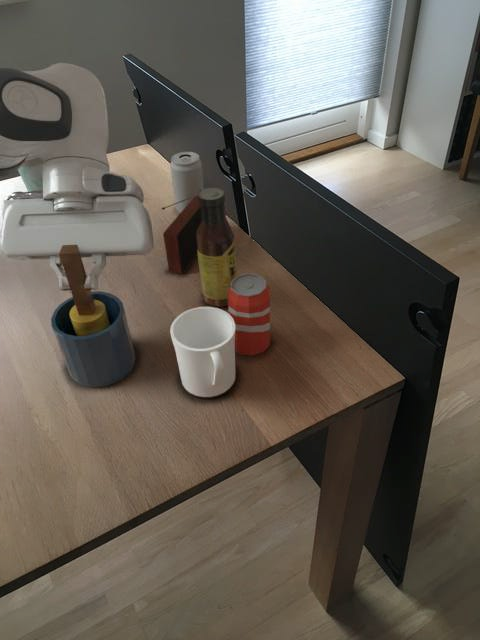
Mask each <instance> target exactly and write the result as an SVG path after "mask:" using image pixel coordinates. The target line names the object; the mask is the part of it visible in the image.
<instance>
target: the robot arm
mask: <svg viewBox="0 0 480 640" xmlns="http://www.w3.org/2000/svg"><path fill="white" fill-rule="evenodd" d="M105 93H106V92H105V91H104V88H103V85H102V83H101V81H100V80H99V79H98V77H97V76H96V75H95V74H94V73H93V72H91V71H90V70H88V69H87V68H84V67H82V66H80V65H77V64H75V63H74V64H73V63H69V62H58V63H53V64H51V65H50V66H48V67H46V68H43V69H38V70H20V69H16V68H11V67H0V178H5V177H8V176H11V175H13V174H14V173H16V172H17V171H18V169H19V168H20V167H21V165H22V164H23V162H24V161H25V160H26V158H27V157H28V156H29V155H35V156H38V157H40V158H41V160H42V163H43V191H30V192H28V191H14V192H12V193H11V194H9V195H8V196H7V197H5V198H4V200H2V202H1V218H2V224H1V231H0V251H1V252H2V254H3V255H4V256H5V257H6V258H8V259H11V260H15V261H27V260H47V259H48V260H49V265H50V267H51V268H52V270H53V272H54V273H55V275H56V276H57V277H58V289H59V291H62V292H69V291H70V292H71V290H70V287H69V283H68V280H67V277H66V274H65V271H64V268H63V265H62V262H61V259H60V256H59V252H60V250H61V248H62V245H78V248H79V252H80V255H81V258H91V262H92V264H94V266H93V268H92V270H91V271H90V273H89V275H87V276H84V281H85V283H84V288H85V289H87V290H91V291H97V290H99V278H100V276H101V275H102V272H103V271H104V269H105V267H106V266H107V257H127V256H128V257H131V256H148V255H150V254H151V252H152V251H153V250H154V246H155V245H154V244H155V242H154V232H153V224H152V220H151V216H150V213H149V211H148V209H147V208H146V206H145V204H144V201H145V195H144V191H143V189H142V187H141V185H140V184H139V183H138V182H137V181H136V180H135V179H134V178H132V177H130V176H127V175H123V174H120V173H115V172H111V170H110V169H111V166H110V163H109V160H108V156H107V155H108V154H107V149H108V145H109V141H110V128H109V125H110V124H109V112H108V104H107V103H108V102H107V98H106V94H105Z"/></svg>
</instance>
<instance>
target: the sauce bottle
mask: <svg viewBox="0 0 480 640" xmlns="http://www.w3.org/2000/svg"><path fill="white" fill-rule="evenodd" d="M225 194H226V193H225V191H224V190H223V189H221V188H218V187H207V188H204V190H202V191H200V192H199V194H198V200H199V204H200V206H201V219H202V222H201V224H200V225H199V228H198V230H197V233H196V239H197V246H198V247H197V252H198V254H197V258H198V259H197V260H198V268H199V277H200V284H201V285H200V286H201V292H202V297H203V300H204V301H205V302H206V303H207V304H208V305H209V306H211V307H214V308H218V307H220V308H221V307H226V306H227V307H228V288H229V287H230V286H231V281H232V280H233V279H234V278H235V277H237V276H238V264H237V252H236V251H237V250H236V236H235V233H234V231H233V230H232V227H231V226H230V223H229V221H228V219H227V216H226V210H225V209H226V208H225V203H226V196H225Z"/></svg>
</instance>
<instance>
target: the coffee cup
mask: <svg viewBox="0 0 480 640" xmlns="http://www.w3.org/2000/svg"><path fill="white" fill-rule="evenodd" d="M17 171H18V173H19V176H20V177H21V179H22V182H23V184H24V186H25V188H26V190H27V192H30V191H43V163H42V160H41V158H40V157H38V156H35V155H29V156H28V157H27V158H26V160H25V161H24V162H23V164H22V165H21V167H20V168H19V169H18V170H17Z"/></svg>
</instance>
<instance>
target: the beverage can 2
mask: <svg viewBox="0 0 480 640" xmlns="http://www.w3.org/2000/svg"><path fill="white" fill-rule="evenodd" d="M227 307H228V309H227V310H228V314H230V316H231V317H232V318H233V320H234V322H235V352H237V353H238V354H242V355H247V356H253V355H258V354H261V353H264V352H265V350H267V349H268V347H269V346H271V292H270V287H269V285H268V284H267V280H266V278H264V277H263V276H261V275H260V274H256V273H250V272H246V273H243V274H237V277H235V278H234V279H233V280H232V281H231V286H230V287H229V288H228V305H227Z"/></svg>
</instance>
